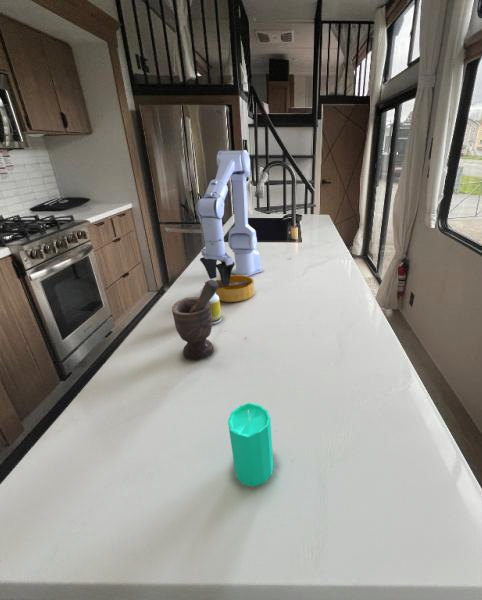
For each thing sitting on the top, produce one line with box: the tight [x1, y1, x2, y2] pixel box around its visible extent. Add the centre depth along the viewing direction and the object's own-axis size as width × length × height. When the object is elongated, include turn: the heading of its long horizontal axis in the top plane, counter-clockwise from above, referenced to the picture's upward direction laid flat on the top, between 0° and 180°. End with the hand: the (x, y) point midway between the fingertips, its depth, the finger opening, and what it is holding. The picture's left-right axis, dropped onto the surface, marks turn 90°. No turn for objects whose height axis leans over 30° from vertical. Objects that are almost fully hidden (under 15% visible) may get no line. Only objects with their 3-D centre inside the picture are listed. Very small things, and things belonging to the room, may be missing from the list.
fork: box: [204, 279, 249, 289], centre depth 106 cm, size 16×2×2 cm, turn 134°
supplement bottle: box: [200, 287, 223, 325], centre depth 92 cm, size 5×5×10 cm
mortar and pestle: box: [171, 279, 218, 362], centre depth 75 cm, size 12×9×20 cm
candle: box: [227, 402, 274, 487], centre depth 48 cm, size 6×6×12 cm
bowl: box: [216, 274, 255, 303], centre depth 108 cm, size 13×13×4 cm
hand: (219, 281), depth 103 cm, fingers open, 7 cm apart
